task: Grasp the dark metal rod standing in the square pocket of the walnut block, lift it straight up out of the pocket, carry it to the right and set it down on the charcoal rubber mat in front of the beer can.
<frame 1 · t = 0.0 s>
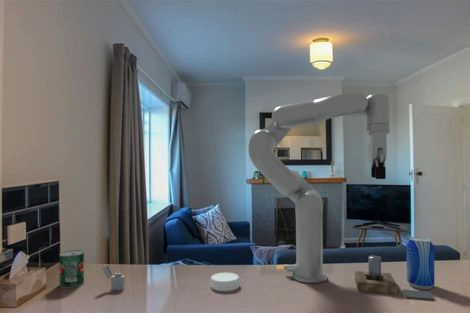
hand: (378, 178, 126), 37 cm above the worktop, tool pointing down, fingers open, 9 cm apart
rod: (374, 271, 123), in the pocket block
lighter: (113, 289, 121), on the worktop
white cheese wheel: (225, 287, 123), on the worktop
canned tomato: (71, 284, 126), on the worktop
beer can: (420, 286, 123), on the worktop
mat: (417, 295, 114), on the worktop
pocket block: (374, 286, 122), on the worktop
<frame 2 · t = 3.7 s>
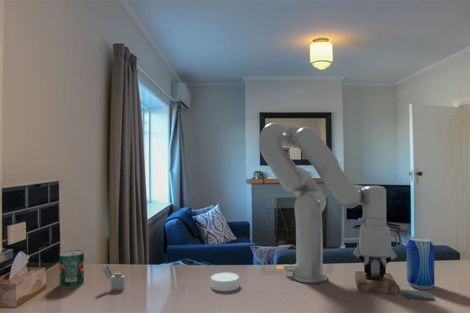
hand: (374, 275, 122), 4 cm above the worktop, tool pointing down, fingers closed on rod, 4 cm apart
rod: (374, 271, 122), in the pocket block, touching gripper
everything else where it was.
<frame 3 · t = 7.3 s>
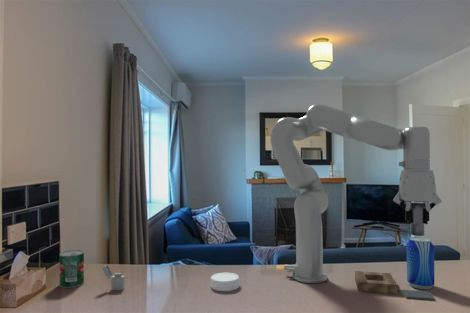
hand: (417, 222, 114), 23 cm above the worktop, tool pointing down, fingers closed on rod, 4 cm apart
rod: (416, 218, 114), point 24 cm above the worktop, touching gripper
everything else where it was.
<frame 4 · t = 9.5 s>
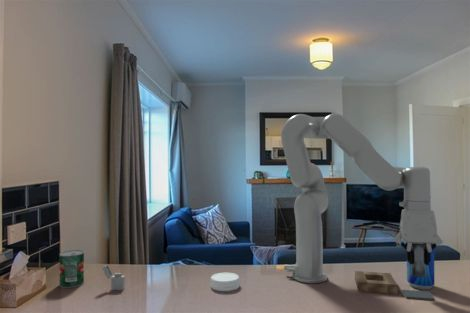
hand: (418, 263, 114), 10 cm above the worktop, tool pointing down, fingers closed on rod, 4 cm apart
rod: (418, 259, 114), point 12 cm above the worktop, touching gripper
everything else where it was.
when the fingers open (5 cm above the worktop, at t = 11.3 s): rod stays where it is, resting on mat.
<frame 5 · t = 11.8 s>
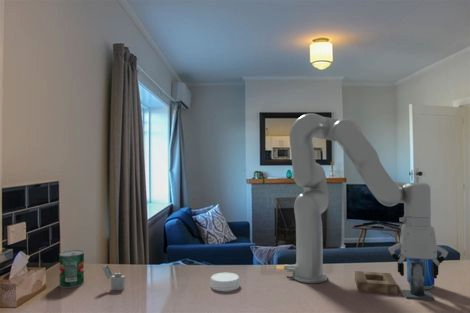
hand: (417, 275, 114), 6 cm above the worktop, tool pointing down, fingers open, 9 cm apart
rod: (417, 277, 114), on the mat, point 6 cm above the worktop
everything else where it was.
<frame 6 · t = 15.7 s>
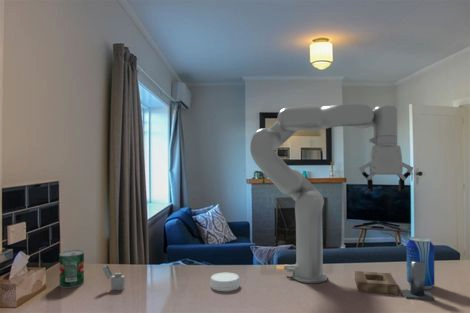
hand: (385, 191, 124), 32 cm above the worktop, tool pointing down, fingers open, 9 cm apart
nothing on the worktop moved.
at the end: rod inside the target area on the mat (0.1 cm from its centre), point 5.7 cm above the mat's base; rod touching mat; the gripper is holding nothing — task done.
